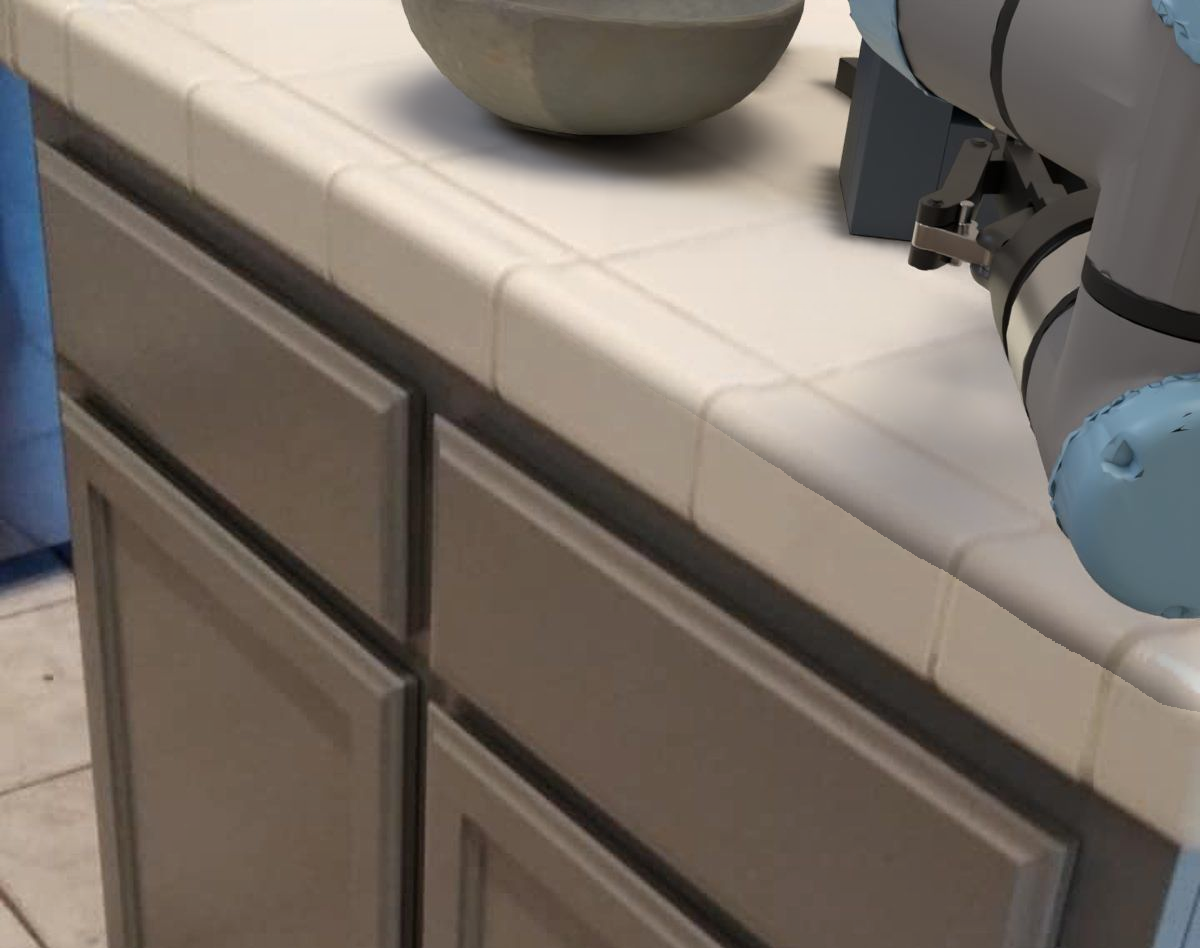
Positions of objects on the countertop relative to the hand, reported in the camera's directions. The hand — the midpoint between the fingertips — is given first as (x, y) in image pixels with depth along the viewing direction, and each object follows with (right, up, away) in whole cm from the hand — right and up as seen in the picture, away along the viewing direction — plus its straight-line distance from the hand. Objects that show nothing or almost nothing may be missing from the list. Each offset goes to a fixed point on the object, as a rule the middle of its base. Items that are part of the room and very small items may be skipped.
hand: (1021, 124), depth 90 cm
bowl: (-19, +7, +20) cm, 29 cm away
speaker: (0, 0, +13) cm, 13 cm away
